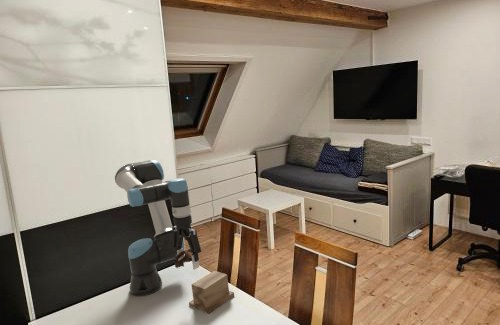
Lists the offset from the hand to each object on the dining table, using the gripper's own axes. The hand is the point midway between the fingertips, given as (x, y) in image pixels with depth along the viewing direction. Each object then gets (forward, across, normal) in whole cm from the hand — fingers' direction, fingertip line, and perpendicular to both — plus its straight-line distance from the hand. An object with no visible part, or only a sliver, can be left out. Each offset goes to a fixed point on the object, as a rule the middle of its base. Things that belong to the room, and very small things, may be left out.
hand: (188, 265), depth 150 cm
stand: (+17, +5, +6) cm, 19 cm away
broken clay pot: (+1, -1, 0) cm, 1 cm away
